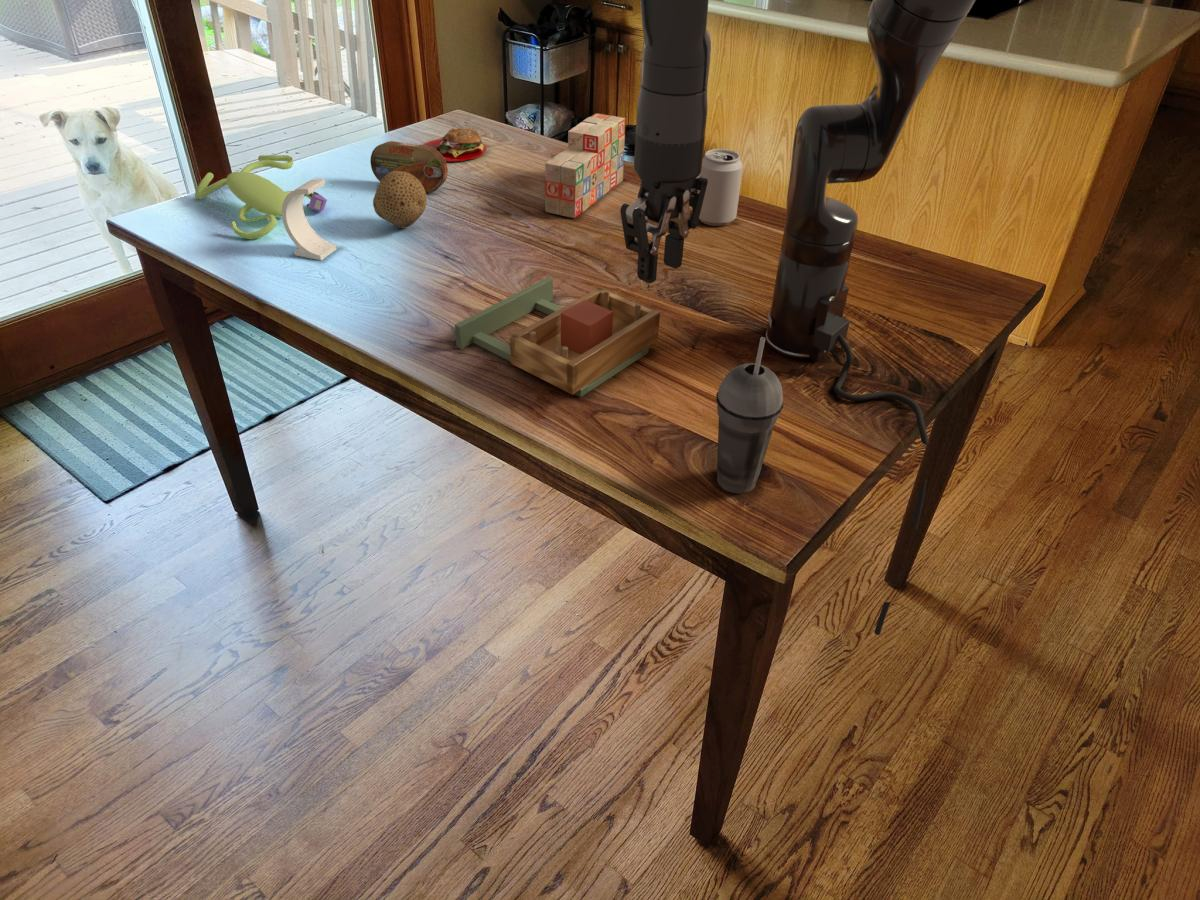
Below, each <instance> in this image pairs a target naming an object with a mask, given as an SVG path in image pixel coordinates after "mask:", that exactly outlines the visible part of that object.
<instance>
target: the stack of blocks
mask: <svg viewBox="0 0 1200 900" xmlns="http://www.w3.org/2000/svg"><path fill="white" fill-rule="evenodd" d="M625 133H626V117H621V116H615V115H609V114H604V113H594V114H592V115H591V116H588V117H586V118H585V119H583V120H582V121H581V122H579V123H578V124H576V125H575V126H574V127H572V128H571V129H570V130H568V135H567V148H565V149H564V150H563V151H561V152H559V153H558V154H556V155H555V156H553V157H552V158H551V159H549V160H547V161H546V162H545V164H544V166H545V177H544V179H545V180H544V195H545V196H544V206H545V212H546V213H550V214H552V215H553V214H554V215H559V216H561V217H562V216H563V217H567V218H572V219H576V217H578V216H579V215H580V214H581V213H584V212H585V211H586V210H587V209H589V208H590V207H591V206H592V205H594V204H595V203H596V202H597V201H598V200H600V199H601V198H602V197H603V196H605V195H606V194H607V193H608V192H610V191H611V190H613V189H614V188H615V187H616V186H618V185H619V184H621V183H622V182H623V180H624V157H625V143H626V134H625Z"/></svg>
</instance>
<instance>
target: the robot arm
mask: <svg viewBox="0 0 1200 900" xmlns="http://www.w3.org/2000/svg"><path fill="white" fill-rule="evenodd" d="M975 2H976V0H872V2H871V4H870V7H869V10H868V14H867V20H866V34H867V40H868V45H869V49H870V50H869V51H870V53H871V58H872V61H873V64H874V68H875V72H876V79H875V81H874V84H873V87H872V89H871V91H870V93H869V94H868V96H867V97H866V98H865V100H863V101H862V102H860V103H849V104H848V103H847V104H825V105H813V106H809V107H807V108H805V110H804V111H803V112H802V113H801V115H800V117H799V119H798V121H797V123H796V127H795V131H794V137H793V143H792V150H791V160H790V168H789V176H788V178H789V179H788V185H787V193H786V210H785V211H786V215H785V223H784V228H783V233H782V240H781V245H780V252H779V257H778V263H777V269H776V275H775V282H774V288H773V293H772V299H771V305H770V310H769V311H768V313H767V320H768V322H767V327H766V332H765V337H764V338H765V343H766V345H767V346H768V347H769V349H771V350H772V351H774V352H776V353H777V354H780V355H782V356H784V357H787V358H792V359H797V360H810V361H812V362H818V361H820V360H821V359H822V358H823V357H824V356H825V355H827V354H828V353H829V352H830V351H831V350H832V349H834V348H835V347H836V346H837V345H838V344H839V345H840V346H841V348H842V349H843V351H844V353H845V363H844V364H843V366H842V367H841V371H840V375H839V377H838V379H837V381H836V382H835V384H834V386H833V391H834V393H835V394H836V395H837V396H838V397H840V398H841V399H844V400H847V401H850V402H851V401H852V402H862V401H870V400H875V399H881V398H889V399H895V400H897V401H900V402H902V403H904V404H905V405H907V406H909V407H910V408H911V409H912V411H913V412H914V416H915V418H916V423H917V428H918V433H919V437H920V441H921V443H922V445H926V446H927V445H929V444H930V443H929V438H928V433H927V429H926V425H925V419H924V416H923V415H924V414H923V411H922V409H921V406H919V404H918V403H917V402H916V401H914V400H913V399H911V398H909V397H908V396H907V395H904V394H903V393H899V392H896V391H889V390H883V391H875V392H870V393H864V394H851V393H848V392H846V391H844V390H843V389H841V388H842V386H843V385H844V382H845V380H846V378H847V374H848V372H849V370H850V368H851V366H852V363H853V352H852V349H851V346H850V345H849V343H848V342H847V340H846V338H847V335H848V331H849V326H850V323H851V320H849V319H847V318H844V317H843V316H844V312H845V308H846V304H847V300H848V294H849V290H850V288H849V286H848V285H846V284H845V282H846V279H847V273H848V270H849V265H850V261H851V255H852V252H853V247H854V243H855V239H856V233H857V230H858V225H859V216H858V213H857V212H856V211H855V209H854V208H852V206H850V205H848V204H847V203H846V202H843V201H840V200H837V199H835V198H832V197H829V196H826V190H827V185H828V184H829V185H830V184H848V183H862V182H866V181H868V180H871V179H872V178H875V177H876V176H877V175H878V174H879V173H880V171H881V170H882V169H883V167H884V166H885V164H886V163H887V161H888V159H889V157H890V156H891V154H892V151H893V150H894V148H895V145H896V143H897V141H898V139H899V136H900V134H901V132H902V130H903V129H904V126H905V124H906V121H907V119H908V117H909V115H910V113H911V110H912V108H913V106H914V104H915V102H916V101H917V99H918V97H919V95H920V94H921V92H922V90H923V88H924V86H925V84H926V83H927V81H928V79H929V77H930V76H931V74H932V72H933V70H934V69H935V67H936V65H937V64H938V62H939V60H940V58H941V57H942V55H943V54H944V52H945V51H946V49H947V48H948V46H949V45H950V43H951V42H952V41H953V39H954V37H955V36H956V34H957V33H958V31H959V29H960V28H961V26H962V24H963V22H964V21H965V19H966V18H967V16H968V14H969V13H970V11H971V9H972V8H973V6H974V4H975ZM639 4H640V5H639V6H640V16H641V17H640V18H641V25H642V32H643V44H642V51H641V52H642V53H641V66H640V67H641V68H640V69H641V71H640V87H639V94H638V99H637V106H636V119H635V120H636V121H635V137H634V138H635V139H634V157H633V167H634V171H635V173H636V174H637V175H638V177H639V178H640V187H639V190H638V192H637V199H636V200H635V201H633V203H631V204H628V203H626V202H625V203H623V204H622V205H621V206H620V208H619V209H620V210H619V211H620V217H621V226H622V231H623V238H624V243H625V249H626V250H629V251H631V252H633V253H637V270H636V274H637V277H638V279H639V280H640V281H643V282H645V283H648V284H652V283H655V281H656V280H657V272H658V261H659V260H658V258H659V253H658V251H659V249H660V248H659V247H660V244H661V239H662V237H663V236H665V239H664V249H663V264H664V265H665V266H666V267H669V268H673V269H675V270H676V269H678V268H680V267H682V262H683V257H684V248H685V247H684V246H685V245H684V244H685V239H687V238H688V236H689V233H690V229H692V230H695V229H696V228H697V227H698V224H699V221H700V220H699V216H700V212H701V208H702V204H703V200H704V196H705V192H706V188H707V184H708V180H707V179H706V178H703V177H701V176H699V175H700V173H701V170H702V161H703V158H704V152H705V151H704V150H705V140H706V130H707V121H708V86H709V77H710V68H711V67H710V66H711V53H712V41H711V35H710V32H709V31H708V29H707V24H708V13H709V0H639ZM690 207H691V208H692V209H690ZM649 221H652V222H654V223H656V224H658V225H654V224H652V223H650V222H649ZM648 233H650V234H651V240H650V242H649V237H648ZM927 481H928V478H926V479H925V480H924V482H923V483H922V484H921V485H920V486H919V488H918V489H917V494H916V495H917V496H916V499H915V507H914V511H913V515H912V519H911V522H912V524H913V526H914V528H915V531H917V530H918V527H919V522H920V519H921V514H922V509H923V506H924V499H925V494H926V487H927ZM890 606H891V601H884V602H883V605H882V608H881V610H880V613H879V616H878V619H877V622H876V625H875V628H874V634H875V635H876V636H880V635H881V633H882V630H883V626H884V623H885V620H886V617H887V614H888V612H889V608H890Z"/></svg>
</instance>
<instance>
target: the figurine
mask: <svg viewBox="0 0 1200 900" xmlns="http://www.w3.org/2000/svg"><path fill="white" fill-rule="evenodd" d="M257 160H258V161H254V162H251V163H249V164H247V165H246V166H244V167H243V168H242V169H241V170H240V171H232V172H231V173H229V174H227V176H226V177H225V178H222V179H220V180H217V181H216V182H214V183H212V184H210V183H211V182H212V180H213V179H214V174H213V173H212V172H207V173H206V174H205V176H204V177H203V178H202V179H201V181H200V182H199V184H198V185H197V187H196V189H195V192H194V198H195V199H196V200H202V199H205V198H207V196H209V195H210V194H212V193H214V192H216V191H217V190H219V189H221V188H223V187H225V186H227V187H228V189H229V191H230V193H232V194H233V195H234V196H235V197H236V198H237V199H238V200H240V201H241V202H242V203H244V205H243V206H242V207H241V208H240V209H239V212H238V214H237V216H238V220H239V221H240V222H242V223H250V222H255V221H261V220H263V219H264V220H265V219H266V220H267V221H269V222H268V223H267V224H266V225H265V226H264V227H263V228H260V229H258V230H255V231H250V232H247V231H243V230H242V229H239V227H238V226H237V224H236V222H235V221H234V220H233V221H232V222H231V228H232V230H233V233H235V234H236V235H237V236H239V238H240V237H241V238H242V239H245V240H254V239H255V240H256V239H259V238H262V237H265V236H267V235H269V233H270V232H272V231H273V230H274V229H275V227H276V226H277V223H278V219H277V217H282V204H283V201H284V199H285V197H286V196H287V195H288V194H289V193H290V192H292V191H293V190H289V191H288V190H287V191H284V190H283V189H282V188H281V187H279V186H278V185H276V184H275V183H274V182H272V181H271V180H269V179H267V178H265V177H263V176H261V175H258V174H256V173H251V172H252V171H253V170H257V169H261V168H264V167H265V168H266V167H268V168H276V169H280V170H282V171H283V170H290V169H292V167H293V165H294V159H293V156H291V155H285V154H261V155H258V157H257ZM304 197H306V198H308V199H309V200H310V201H309V203H307V204H306V207H307V208H309V209H311V210H314V211H315V212H319V213H321V212H323V211H324V210H325V208H326V204H327V201H328V199H327V198H325V197H324V196H323V195H322V194H319V193H318V192H316V191H313V192H312V193H310V194H305V195H304ZM252 209H253V210H254V211H257V212H259V213H262V214H263V215H261V216H257V217H252V218H247V217H246V216H247V213H248V212H250V211H251V210H252ZM264 214H265V215H264Z"/></svg>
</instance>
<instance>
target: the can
mask: <svg viewBox="0 0 1200 900" xmlns="http://www.w3.org/2000/svg"><path fill="white" fill-rule="evenodd" d="M743 169H744V164H743V162H742V161H741V155H740V153H738V152H736V151H735V150H731V149H726V148H713V149H709V150H707V151H705V153H704V156H703V161H702V170H701V173H700V175H699V176H701V177H703V178H706V179H707V180H708V184H707V188H706V192H705V196H704V200H703V204H702V208H701V212H700V216H699V220H698V221H700V222H701V223H703V224H705V225H708V226H714V227H716V226H717V227H721V226H722V227H723V226H726V225H729V224H730V223H732V222H733V221H734V220H735V219H736V218H737V215H738V207H739V199H740V191H741V185H742V183H741V182H742V177H743Z"/></svg>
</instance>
